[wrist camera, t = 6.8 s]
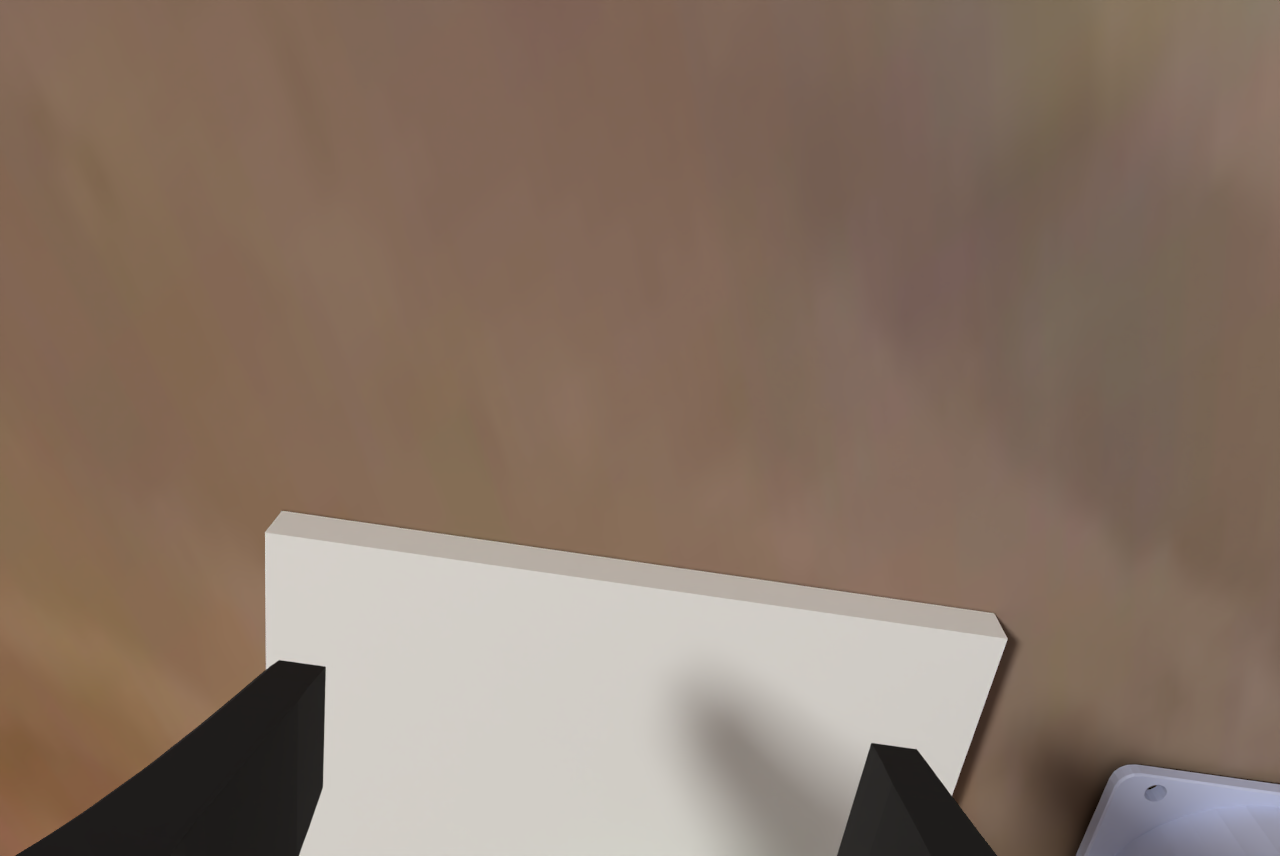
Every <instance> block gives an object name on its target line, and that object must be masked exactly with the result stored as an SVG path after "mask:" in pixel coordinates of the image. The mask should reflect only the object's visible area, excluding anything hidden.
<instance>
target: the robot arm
mask: <svg viewBox="0 0 1280 856" xmlns="http://www.w3.org/2000/svg"><path fill="white" fill-rule="evenodd" d="M325 681H326V667H325V666H318V665H311V664H304V663H297V662H289V661H282V660H279V661H277V662H276V663H274V664H273V665H271V666H270V667H269V668H267V669H266V670H265V671H264V672H263V673H261V674H260V675H259V676H258V677H257V678H256V679H254V680H253V681H252V682H251V683H250V684H248V685H247V686H246V687H245V688H244V689H243V690H241V691H240V692H239V693H238V694H237V695H235V696H234V697H233V698H232V699H231V700H230V701H228V702H227V703H226V704H225V705H224V706H222V707H221V708H220V709H219V710H218V711H216V712H215V713H214V714H213V715H211V716H210V717H209V718H208V719H207V720H205V721H204V722H203V723H202V724H201V725H199V726H198V727H197V728H196V729H194V730H193V731H192V732H190V733H189V734H188V735H187V736H185V737H184V738H183V739H182V740H180V741H179V742H178V743H177V744H175V745H174V746H173V747H171V748H170V749H169V750H168V751H166V752H165V753H164V754H163V755H161V756H160V757H159V758H157V759H156V760H155V761H154V762H152V763H151V764H150V765H148V766H147V767H146V768H144V769H143V770H142V771H140V772H139V773H138V774H136V775H135V776H133V777H132V778H131V779H129V780H128V781H126V782H125V783H124V784H122V785H121V786H119V787H118V788H117V789H115V790H114V791H112V792H111V793H110V794H108V795H107V796H105V797H104V798H103V799H101V800H100V801H98V802H97V803H96V804H94V805H93V806H92V807H90V808H89V809H87V810H86V811H84V812H83V813H81V814H80V815H78V816H77V817H75V818H74V819H72V820H71V821H69V822H68V823H66V824H65V825H63V826H62V827H60V828H59V829H57V830H56V831H54V832H53V833H51V834H50V835H48V836H46V837H45V838H43V839H42V840H40V841H39V842H37V843H35V844H34V845H32V846H30V847H29V848H27V849H25V850H24V851H22V852H21V853H19V854H17V855H16V856H299V854H300V851H301V848H302V846H303V843H304V840H305V838H306V835H307V832H308V829H309V827H310V824H311V821H312V818H313V815H314V812H315V809H316V806H317V803H318V801H319V798H320V795H321V792H322V789H323V765H324V723H325ZM1153 785H1157V786H1156V787H1154V788H1152V789H1148V788H1149V787H1151V786H1153ZM1147 789H1148V790H1147ZM837 856H997V855H996V854H995V852H994V851H993V850H992V849H991V847H990V846H989V845H988V843H987V842H986V841H985V839H984V838H983V837H982V836H981V834H980V833H979V832H978V830H977V829H976V828H975V826H974V825H973V824H972V822H971V821H970V820H969V818H968V817H967V816H966V814H965V813H964V812H963V810H962V809H961V808H960V806H959V805H958V804H957V802H956V801H955V800H954V798H953V797H952V796H951V794H950V793H949V792H948V790H947V789H946V787H945V786H944V785H943V783H942V782H941V781H940V779H939V778H938V777H937V775H936V774H935V773H934V771H933V770H932V769H931V767H930V766H929V765H928V763H927V762H926V761H925V759H924V758H923V757H922V755H921V754H920V753H919V751H918V750H917V749H912V748H905V747H897V746H890V745H883V744H876V743H871V746H870V749H869V752H868V755H867V759H866V762H865V765H864V768H863V772H862V775H861V778H860V782H859V785H858V788H857V791H856V795H855V798H854V801H853V805H852V808H851V811H850V814H849V818H848V821H847V824H846V828H845V831H844V834H843V837H842V841H841V844H840V847H839V850H838V854H837ZM1076 856H1280V784H1272V783H1265V782H1258V781H1251V780H1244V779H1237V778H1230V777H1223V776H1215V775H1208V774H1201V773H1194V772H1187V771H1180V770H1173V769H1165V768H1158V767H1151V766H1144V765H1137V764H1132V765H1125V766H1122V767H1120V768H1118V769H1117V770H1115V771H1114V772H1113V773H1112V775H1111V776H1110V778H1109V780H1108V782H1107V785H1106V787H1105V789H1104V792H1103V794H1102V796H1101V798H1100V801H1099V803H1098V805H1097V808H1096V810H1095V812H1094V815H1093V817H1092V819H1091V821H1090V824H1089V826H1088V828H1087V831H1086V833H1085V835H1084V838H1083V840H1082V842H1081V844H1080V847H1079V849H1078V851H1077V854H1076Z"/></svg>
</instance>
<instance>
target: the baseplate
mask: <svg viewBox="0 0 1280 856" xmlns="http://www.w3.org/2000/svg"><path fill="white" fill-rule="evenodd" d="M265 594H266V669H267V668H269V667H270V666H271V665H273V664H274V663H276V662H277V661H279V660H282V661H289V662H297V663H304V664H311V665H318V666H325V667H326V681H325V723H324V765H323V789H322V792H321V795H320V798H319V801H318V803H317V806H316V809H315V812H314V815H313V818H312V821H311V824H310V827H309V829H308V832H307V835H306V838H305V840H304V843H303V846H302V848H301V851H300V854H299V856H837V854H838V850H839V847H840V844H841V841H842V837H843V834H844V831H845V828H846V824H847V821H848V818H849V814H850V811H851V808H852V805H853V801H854V798H855V795H856V791H857V788H858V785H859V782H860V778H861V775H862V772H863V768H864V765H865V762H866V759H867V755H868V752H869V749H870V746H871V743H876V744H883V745H890V746H897V747H905V748H912V749H917V750H918V751H919V753H920V754H921V755H922V757H923V758H924V759H925V761H926V762H927V763H928V765H929V766H930V767H931V769H932V770H933V771H934V773H935V774H936V775H937V777H938V778H939V779H940V781H941V782H942V783H943V785H944V786H945V787H946V789H947V790H948V792H949V793H950V794H951V796H952V794H953V791H954V788H955V786H956V783H957V780H958V777H959V774H960V772H961V769H962V766H963V763H964V760H965V758H966V755H967V752H968V749H969V746H970V744H971V741H972V738H973V735H974V732H975V729H976V727H977V724H978V721H979V718H980V715H981V713H982V710H983V707H984V704H985V701H986V699H987V696H988V693H989V690H990V687H991V685H992V682H993V679H994V676H995V673H996V670H997V668H998V665H999V662H1000V659H1001V656H1002V654H1003V651H1004V648H1005V645H1006V642H1007V640H1008V639H1007V637H1006V635H1005V633H1004V631H1003V629H1002V627H1001V625H1000V623H999V621H998V619H997V618H996V616H995V614H994V613H988V612H981V611H974V610H967V609H960V608H953V607H946V606H940V605H933V604H926V603H919V602H912V601H905V600H898V599H891V598H884V597H877V596H870V595H863V594H856V593H849V592H842V591H835V590H828V589H822V588H815V587H808V586H801V585H794V584H787V583H780V582H773V581H766V580H759V579H752V578H745V577H738V576H731V575H724V574H717V573H710V572H704V571H697V570H690V569H683V568H676V567H669V566H662V565H655V564H648V563H641V562H634V561H627V560H620V559H613V558H606V557H599V556H592V555H585V554H579V553H572V552H565V551H558V550H551V549H544V548H537V547H530V546H523V545H516V544H509V543H502V542H495V541H488V540H481V539H474V538H467V537H461V536H454V535H447V534H440V533H433V532H426V531H419V530H412V529H405V528H398V527H391V526H384V525H377V524H370V523H363V522H356V521H349V520H342V519H336V518H329V517H322V516H315V515H308V514H301V513H294V512H287V511H281V513H280V514H279V515H278V517H277V518H276V519H275V520H274V522H273V523H272V524H271V526H270V527H269V528H268V529H267V531H266V532H265Z"/></svg>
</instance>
